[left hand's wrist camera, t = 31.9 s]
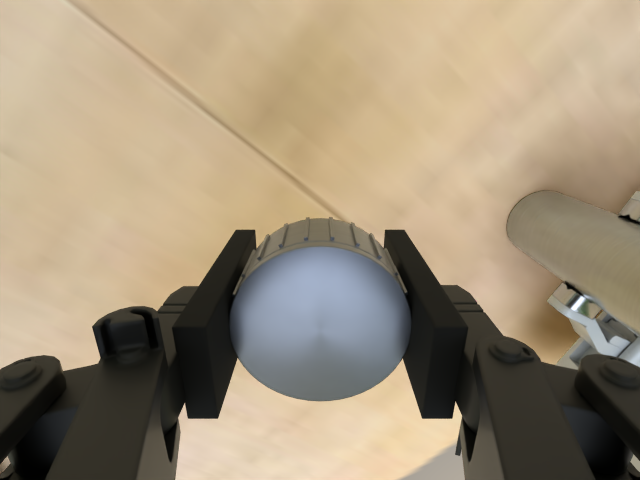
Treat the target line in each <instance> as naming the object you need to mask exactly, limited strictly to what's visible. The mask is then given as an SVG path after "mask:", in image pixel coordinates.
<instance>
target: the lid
mask: <svg viewBox="0 0 640 480" xmlns="http://www.w3.org/2000/svg"><path fill="white" fill-rule="evenodd" d="M406 295H408V292H407V290H406V288H405V285H404V283H403V281H402V279H401V277H400V274H399V272H398V270H397V268H396V266H395V265H394V263H393V261H392V259H391V257H390V254H389V252H388V250H387V249H386V248H385V249H384V248H383V247H382V246H381V245H380V244H379V243H378V241H377V240H375V238H374V235H373V234H372V233H370V234H368V233H367V232H365V231H364V230H362V229H360V228H358V227H356V226H355V224H354V223H352V222H351V224H349V223H346V222H343V221H339V220H334V219H333V218H332V217H329V219H324V218H319V219H310V218H309V217H308V218H306V220H302V221H298V222H295V223H291V224H289V225H288V224H287V223H286V224H284V227H282V228H280V229H279V230H277V231H276V232H274V233H272V234H271V235H270V236H269V235H266V237H265V239H264V241H263V242H262V243H261V244H260V246H259V247H258V248H257V249H256V250H253V251H252V253H251V255H250V257H249V259H248V262H247V264H246V266H245V268H244V270H243V272H242V274H241V276H240V279H239V281H238V283H237V285H236V287H235V290H234V292H233V294H232V297H234V298H233V301H232V304H231V307H230V312H229V330H230V339H231V343H232V346H233V349H234V351H235V353H236V355H237V357H238V359H239V360H240V362H241V363H242V365H243V366H244V367H245V368H246V370H247V371H248V372H249V373H250V374H251V375H252V376H253V377H254V378H256V379H257V380H258V381H259V382H261V383H262V384H264V385H265V386H267V387H268V388H270V389H272V390H274V391H276V392H278V393H281V394H283V395H286V396H289V397H293V398H296V399H302V400H308V401H332V400H339V399H344V398H348V397H352V396H355V395H357V394H360V393H363V392H365V391H367V390H369V389H371V388H372V387H374V386H376V385H377V384H379V383H380V382H381V381H383V380H384V379H385V378H386V377H388V376H389V375H390V374H391V372H392V371H393V370H394V369H395V368H396V367H397V365H398V364H399V363H400V361H401V360H402V358H403V356H404V354H405V353H406V350H407V348H408V345H409V341H410V333H411V323H412V314H411V308H410V305H409V301H408V299H407V296H406Z"/></svg>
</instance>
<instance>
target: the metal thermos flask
mask: <svg viewBox="0 0 640 480" xmlns="http://www.w3.org/2000/svg"><path fill="white" fill-rule="evenodd" d="M507 234H508V237H509V239H510V241H511V242H512V244H513V245H514V246H515V247H517V248H518V249H519V250H521V251H522V252H524V253H525V254H526V255H528V256H529V257H530V258H532V259H533V260H535V261H536V262H537V263H539V264H540V265H541V266H543V267H544V268H545V269H547V270H548V271H550V272H551V273H552V274H554V275H555V276H556V277H558V278H559V279H561V280H562V281H563V282H565V283H566V284H568V285H569V286H570V287H572V288H573V289H574V290H576V291H577V292H579V293H580V294H581V295H583V296H584V297H585V298H587V299H588V300H589V301H591V302H592V303H594V304H595V305H596V306H598V307H599V308H600V309H602V310H603V311H604V312H606V313H607V314H609V315H610V316H611V317H613V318H614V319H615V320H617V321H618V322H620V323H621V324H622V325H624V326H625V327H626V328H628V329H629V330H631V331H632V332H633V333H635V334H636V335H637V336H639V337H640V223H639V222H636V221H634V220H631V219H628V218H625V217H623V216H620V215H618V214H615V213H612V212H610V211H607V210H604V209H602V208H599V207H596V206H593V205H591V204H588V203H585V202H583V201H580V200H577V199H575V198H572V197H569V196H567V195H564V194H561V193H559V192H556V191H550V190H545V191H539V192H535V193H532V194H530V195H528V196H526V197H525V198H523V199H522V200H521V201H520V202H519V203H518V204H517V205H516V206H515V207H514V208H513V210H512V211H511V213H510V215H509V218H508V221H507Z"/></svg>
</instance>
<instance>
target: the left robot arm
mask: <svg viewBox="0 0 640 480" xmlns="http://www.w3.org/2000/svg"><path fill="white" fill-rule="evenodd" d="M385 248H386V249H387V250H388V252H389V254H390V257H391V259H392V261H393V263H394V265H395V266H396V268H397V270H398V272H399V274H400V277H401V279H402V281H403V283H404V285H405V288H406V290H407V292H408V295H406V296H407V299H408V301H409V305H410V308H411V314H412V323H411V333H410V341H409V345H408V348H407V350H406V353H405V354H404V356H403V360H404V364H405V367H406V370H407V373H408V376H409V379H410V382H411V385H412V388H413V391H414V395H415V398H416V401H417V404H418V407H419V410H420V413H421V416H422V419H452V417H453V412H454V406H455V401H456V403H457V405H458V407H459V410H460V412H461V414H462V420H461V425H460V431H459V436H458V441H457V446H456V453H455V455H459V456H460V453H461V449H462V457H463V466H464V475H465V480H640V472H639V471H638V470H637V469H636V468H635V467H634V466H633V465H632V463H631V462H630V461H631V459H632V457H633V454H634V455H635V456H636V457H637V458H638V460H639V461H640V367H638V366H636V365H634V364H632V363H630V362H628V361H626V360H624V359H621V358H617V357H615V356H610V355H603V354H591V355H586V356H585V357H584V358H582V359H581V362H580V365H579V368H578V370H576V369H571V368H567V367H562V366H557V365H552V364H548V363H544V362H541V360H540V358H539V357H538V355H537V354H536V353H535V351H534V350H533V349H531V348H530V347H529V346H527V345H526V344H524V343H522V342H520V341H518V340H515V339H513V338H509V337H505V336H503V335H502V334H501V332H500V331H499V330H498V328H497V327H496V326H495V325H494V323H493V322H492V321H491V320H490V318H489V317H488V316H487V314H486V313H485V312H483V309H482V308H481V307H480V306H479V305H477V302H476V300H475V299H474V298H473V297H472V295H471V294H470V293H469V292H467V291H465V290H464V289H462V288H461V287H459V286H458V285H440V283H439V282H438V280H437V279H436V277H435V276H434V274H433V273H432V271H431V270H430V268H429V267H428V265H427V264H426V262H425V261H424V259H423V258H422V256H421V255H420V253H419V252H418V250H417V249H416V247H415V245H414V244H413V242H412V241H411V239H410V238H409V236H408V235H407V233H406V232H405V230H385V239H384V249H385ZM253 250H256V236H255V230H236V231H235V232H234V234H233V235H232V237H231V238H230V240H229V241H228V243H227V244H226V246H225V247H224V249H223V250H222V252H221V253H220V255H219V256H218V258H217V259H216V261H215V263H214V264H213V266H212V267H211V269H210V270H209V272H208V273H207V275H206V276H205V278H204V279H203V281H202V282H201V284H200V285H199V286H183V287H181V288H180V289H178V290H177V291H175V292H174V293H172V294H170V296H169V297H168V298H167V300H166V301H165V302H164V303H163V306H161V307H160V309H159V310H158V311H156V310H154V309H153V308H150V307H145V306H136V307H128V308H124V309H119V310H117V311H114V312H112V313H109V314H107V315H106V316H104V317H102V318H101V319H99V320H98V321H97V322H96V323H95V324H94V325H93V326H92V328H93V332H94V335H95V339H96V342H97V346H98V350H99V353H100V357H101V359H100V361H99V363H98V364H95V365H91V366H86V367H81V368H76V369H72V370H67V371H63V370H62V367H61V364H60V361H59V360H58V359H57V358H55V357H53V356H46V355H43V356H35V357H29V358H25V359H21V360H18V361H16V362H14V363H12V364H10V365H8V366H6V367H4V368H2V369H0V464H1V463H2V461H3V460H4V459H5V458H6V457H7V456H8V458H9V460H10V463H11V464H10V465H9V466H8V467H7V468H6V470H5V471H4V472H2V473H1V474H0V480H175V476H176V467H177V458H178V449H179V441H180V426H179V420H178V416H179V414H180V412H181V410H182V407H183V405H184V403H185V405H186V410H187V416H188V419H218V417H219V414H220V411H221V408H222V404H223V401H224V398H225V395H226V392H227V389H228V386H229V383H230V380H231V377H232V373H233V370H234V367H235V364H236V361H237V358H238V357H237V355H236V353H235V351H234V349H233V346H232V343H231V339H230V330H229V312H230V307H231V304H232V301H233V298H234V297H232V294H233V292H234V290H235V287H236V285H237V283H238V281H239V279H240V276H241V274H242V272H243V270H244V268H245V266H246V264H247V262H248V259H249V257H250V255H251V253H252V251H253Z"/></svg>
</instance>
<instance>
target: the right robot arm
mask: <svg viewBox="0 0 640 480" xmlns="http://www.w3.org/2000/svg"><path fill="white" fill-rule="evenodd" d="M619 215H620V216H623V217H625V218H628V219H631V220H634V221H636V222H639V223H640V191H636V192H635V193H634V194H633V196H632V197H631V198H630V199H629V201H628V202H627V203H626V204H625V206H624V207H623V208H622V210H621V211H620V212H619ZM547 302H548V303H549V304H550V305H552V306H553V307H554V308H555V309H556V310H557V311H559V312H560V313H562V314H563V315H565V316H566V317H568V318H569V320H570V322H571V324H572V327H573V329H574V331H575V332H576V333H577V334H578V335H579V336H580V337H579V338H578V340H577V341H576V342H575V343H574V344H573V345H572V346H571V347H570V349H569V350H568V351H567V352H566V353H565V354H564V355H563V356H562V358H561V359H560V360H559V361H558V362H557V363H556V364H555V365H557V366H562V367H567V368H571V369H576V370H578V368H579V365H580V362H581V359H582V358H584V357H585V356H586V355H591V354H603V355H610V356H615V357H617V358H621V359H624V360H626V361H628V362H630V363H632V364H634V365H636V366H638V367H640V337H639V336H637V335H636V334H635V333H633V332H632V331H631V330H629V329H628V328H626V327H625V326H624V325H622V324H621V323H620V322H618V321H617V320H615V319H614V318H613V317H611V316H610V315H609V314H607V313H606V312H604V311H602V313H601V314H600V315H599V316H598V317H597V318H595V317H596V315H597V314H598V313H599V312H600V311H601V309H600V308H599V307H598V306H596V305H595V304H594V303H592V302H591V301H589V300H588V299H587V298H585V297H584V296H583V295H581V294H580V293H579V292H577V291H576V290H574V289H573V288H572V287H570V286H569V285H568V284H566V283H564V282H562V283H561V284H560V285H559V287H558V288H557V289H556V290H555V291H554V293H553V294H552V295H551V296H550V298H549V299H548V300H547Z"/></svg>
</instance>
